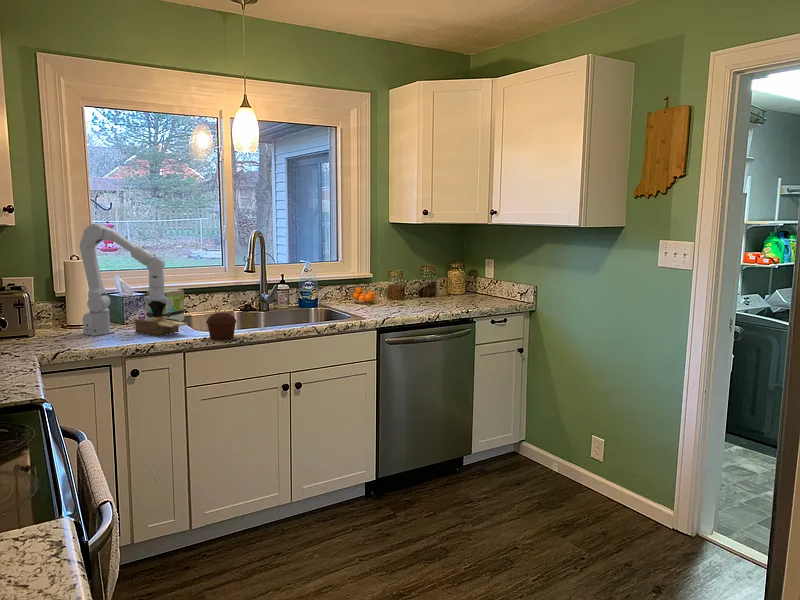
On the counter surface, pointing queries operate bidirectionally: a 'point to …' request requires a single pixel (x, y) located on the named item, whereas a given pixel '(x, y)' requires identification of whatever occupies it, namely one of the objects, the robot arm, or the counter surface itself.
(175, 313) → the tea box
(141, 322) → the box
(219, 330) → the muffin
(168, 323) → the lid
